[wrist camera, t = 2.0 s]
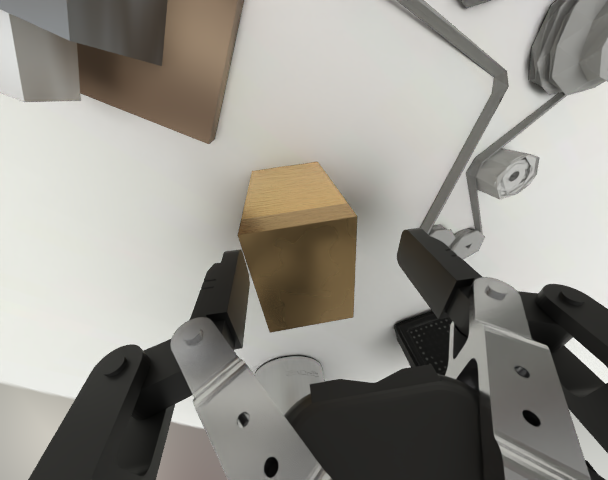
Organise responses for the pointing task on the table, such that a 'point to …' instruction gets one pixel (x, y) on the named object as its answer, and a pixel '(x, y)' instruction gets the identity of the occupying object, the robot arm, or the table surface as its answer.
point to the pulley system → (543, 71)
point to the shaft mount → (123, 56)
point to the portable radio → (428, 343)
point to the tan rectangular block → (299, 246)
